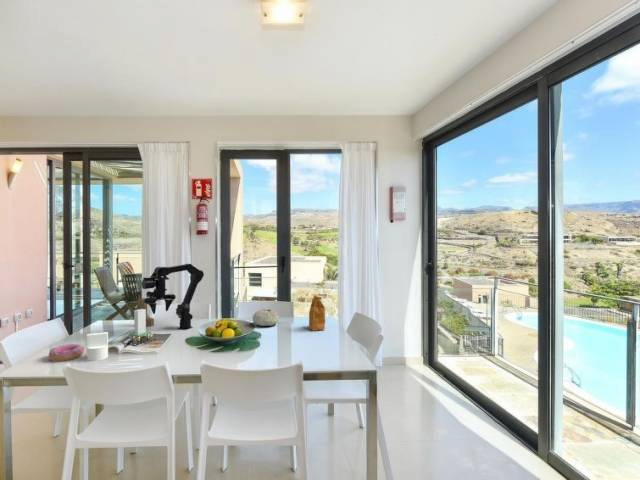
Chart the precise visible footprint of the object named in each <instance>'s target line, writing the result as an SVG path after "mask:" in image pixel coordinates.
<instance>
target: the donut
mask: <svg viewBox="0 0 640 480" xmlns="http://www.w3.org/2000/svg"><path fill="white" fill-rule="evenodd" d="M84 351H85V350H84V347H83V345H81V344H77V343H72V344H64V345H59V346H56V347H52V348H51V349H50V350H49V353H48V357H49V359H50V360H51V361H53V362H67V361H72V360H75V359H78V358H80V357H82V355H83V354H84Z"/></svg>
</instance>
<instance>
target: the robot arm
mask: <svg viewBox="0 0 640 480" xmlns="http://www.w3.org/2000/svg"><path fill="white" fill-rule="evenodd" d="M184 271H187V273H189V275H190V276H189V277H190V278H189V279H190V283H189V285H188V288H187V290H186V293H185V295H184V298H183V300H182V302H181V303H180V304H177V305H176V309H175V314H176V316H177V317H178V319H179V327H178V329H180V330H183V331H184V330H185V331H186V330H188V329H192V328H193V326H192V320H193V317H194V316H193V315H192V313H191V303H192V300H193V297H194V294H195V292H196V290H197V287H198V284H199V283H201V281H202V280H203V278H204V276H205V274H204V271H203V270H201V269H199V268H197V267H195V266H194V265H193V264H191V263H183V264H180V265H179V264H178V265H172V266H156V267H155V268H154V270H153V272H152V274H151V275H150V276H149V277H143V278H142V281H141V289H143V290H148V289H153V291H151V290H149V291H146V293H145V294H146V295H145V296H146V297H145V299H144V303H146V304H147V306H149V307H150V309H151V312H152V314H153V315H155V314H156V310H157V301H158V302H159V301H162V300H163V301H164V302H165V303H164V304H165V312H168V310H169V309H170V307H171V305H172V304H173V301H175V300H176V295H175V294H174V293H167V294H166V291H168V289H167V288H166V281H168V280H170V278H169V277H168V276H169V275H170V274H173V273H178V272H179V273H180V272H184Z"/></svg>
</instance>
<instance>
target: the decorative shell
mask: <svg viewBox="0 0 640 480" xmlns="http://www.w3.org/2000/svg"><path fill="white" fill-rule="evenodd" d="M252 321H253V323H254V324H256V325H257V326H263V327H268V326H269V327H270V326H275V325H276V324H277V323H278V322H279V321H280V316H279V314H278V313H277V311H276V310H274V309H265V308H264V309H261V310H257V311H256V312H254V314H252Z"/></svg>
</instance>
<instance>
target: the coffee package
mask: <svg viewBox="0 0 640 480" xmlns="http://www.w3.org/2000/svg"><path fill="white" fill-rule="evenodd" d="M308 314H309V315H308V327H309V329H310V330H311V331H314V332H316V331H323V330H325V329H326V327H325V326H326V307H325V306H324V304H323V302H322V297H321V296H318V294H314V296H313V299H312V301H311V303H310V308H309V313H308Z"/></svg>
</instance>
